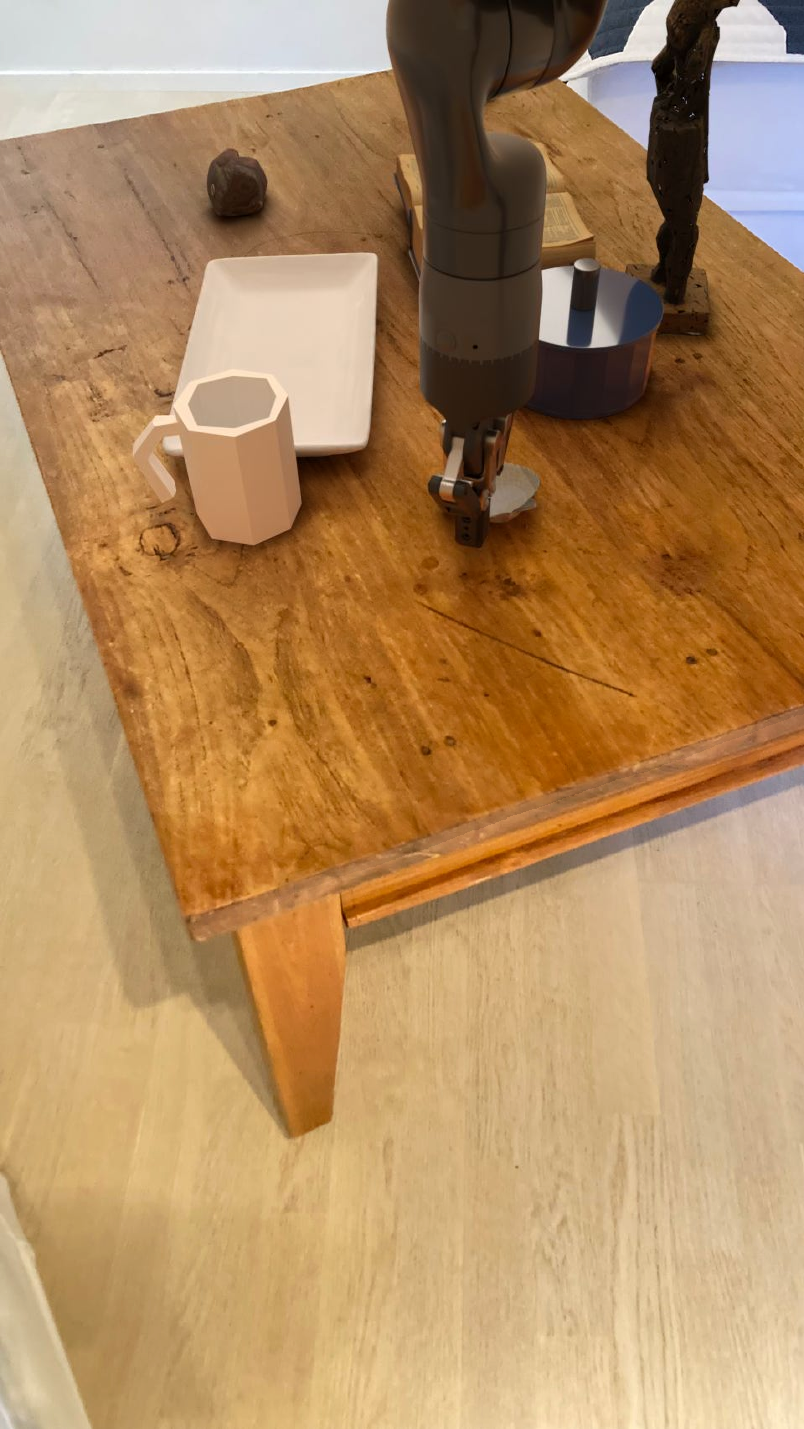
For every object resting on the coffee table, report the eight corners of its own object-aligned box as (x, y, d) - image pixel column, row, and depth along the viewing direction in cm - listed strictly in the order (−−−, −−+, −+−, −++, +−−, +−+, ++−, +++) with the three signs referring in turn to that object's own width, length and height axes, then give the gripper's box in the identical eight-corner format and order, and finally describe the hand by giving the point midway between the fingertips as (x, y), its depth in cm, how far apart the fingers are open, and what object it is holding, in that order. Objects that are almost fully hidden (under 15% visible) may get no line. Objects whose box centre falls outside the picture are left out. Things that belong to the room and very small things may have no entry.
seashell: (513, 489, 87) (421, 485, 85) (522, 454, 85) (428, 449, 83) (549, 537, 81) (451, 535, 78) (559, 501, 79) (460, 498, 77)
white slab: (165, 483, 86) (156, 448, 83) (212, 288, 106) (207, 254, 103) (372, 480, 85) (370, 444, 83) (380, 284, 106) (379, 250, 103)
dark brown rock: (215, 136, 117) (215, 158, 109) (272, 161, 119) (276, 183, 112) (199, 191, 120) (199, 215, 113) (255, 213, 123) (258, 239, 115)
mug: (298, 471, 86) (285, 364, 79) (304, 540, 81) (291, 431, 73) (151, 485, 86) (123, 378, 78) (147, 555, 80) (117, 447, 73)
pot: (659, 354, 96) (671, 286, 91) (627, 431, 89) (639, 362, 84) (527, 331, 99) (531, 264, 94) (485, 404, 92) (487, 335, 87)
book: (595, 296, 103) (603, 236, 98) (428, 314, 102) (427, 253, 97) (536, 186, 119) (540, 129, 114) (391, 200, 118) (389, 143, 113)
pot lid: (676, 291, 92) (685, 239, 88) (641, 372, 84) (650, 319, 80) (528, 267, 95) (531, 216, 92) (481, 343, 87) (483, 291, 84)
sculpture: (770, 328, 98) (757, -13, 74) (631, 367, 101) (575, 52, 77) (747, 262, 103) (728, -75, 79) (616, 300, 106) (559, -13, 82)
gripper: (506, 390, 61) (493, 610, 74) (565, 283, 69) (544, 498, 82) (384, 368, 63) (393, 586, 76) (456, 266, 71) (452, 479, 84)
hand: (471, 540), depth 79 cm, fingers closed
